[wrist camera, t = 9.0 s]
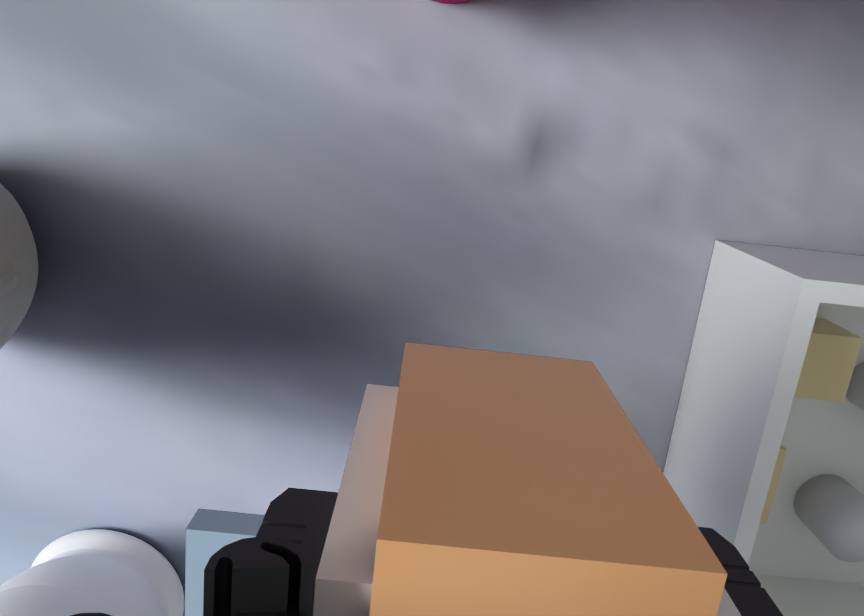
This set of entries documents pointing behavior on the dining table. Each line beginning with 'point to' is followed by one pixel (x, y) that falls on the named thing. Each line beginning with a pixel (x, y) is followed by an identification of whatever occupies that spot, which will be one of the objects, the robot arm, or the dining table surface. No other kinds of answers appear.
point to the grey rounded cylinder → (15, 265)
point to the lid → (513, 500)
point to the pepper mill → (450, 1)
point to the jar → (95, 579)
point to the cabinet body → (779, 422)
